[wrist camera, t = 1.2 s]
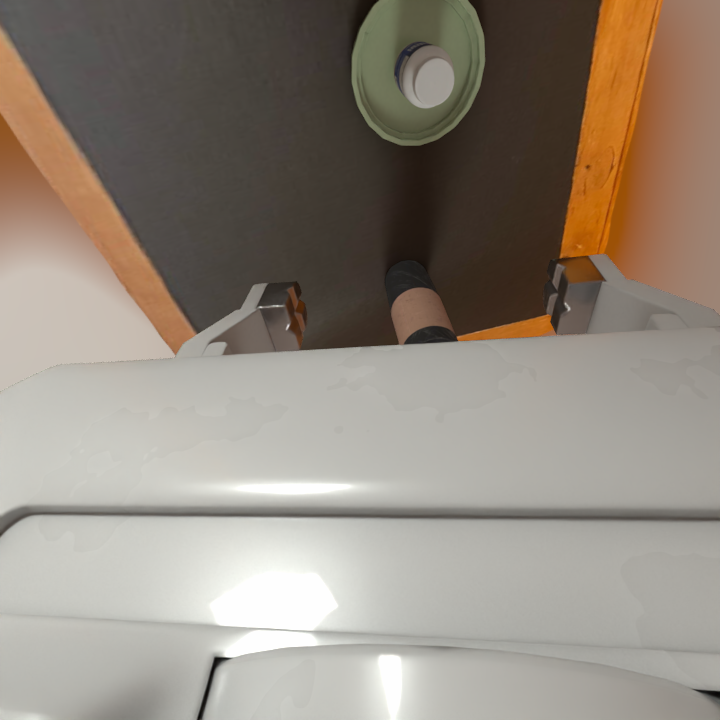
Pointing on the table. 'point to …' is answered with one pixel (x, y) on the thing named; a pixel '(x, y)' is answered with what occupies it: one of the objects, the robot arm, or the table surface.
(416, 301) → the travel mug
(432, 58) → the pill bottle
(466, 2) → the dish
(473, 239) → the table surface
